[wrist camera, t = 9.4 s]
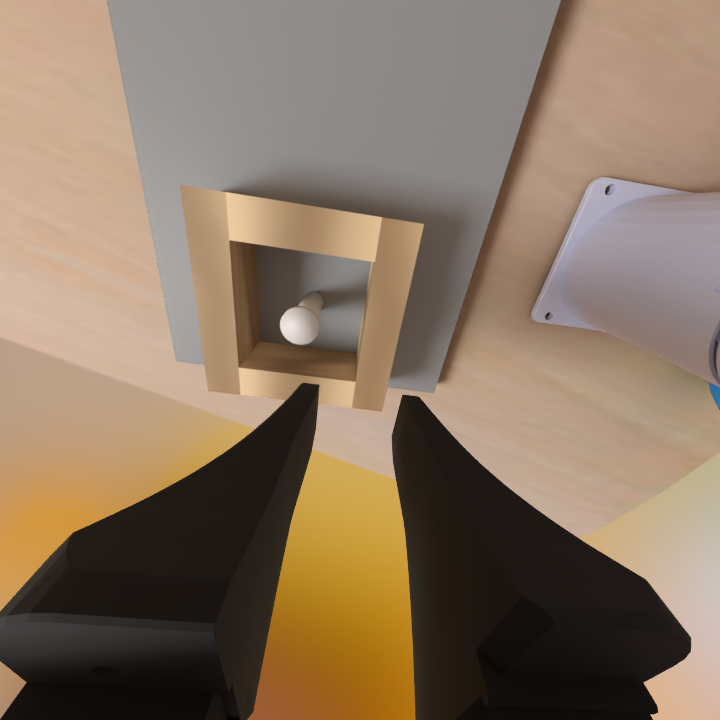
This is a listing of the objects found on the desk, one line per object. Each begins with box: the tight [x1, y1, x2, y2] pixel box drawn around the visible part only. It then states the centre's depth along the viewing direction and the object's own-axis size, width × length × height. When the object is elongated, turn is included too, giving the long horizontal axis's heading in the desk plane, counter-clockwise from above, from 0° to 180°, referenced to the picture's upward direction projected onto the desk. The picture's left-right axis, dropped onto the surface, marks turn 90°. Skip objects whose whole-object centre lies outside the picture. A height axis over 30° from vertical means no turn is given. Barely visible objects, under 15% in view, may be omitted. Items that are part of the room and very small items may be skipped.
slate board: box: [107, 0, 561, 393], centre depth 13 cm, size 18×22×6 cm
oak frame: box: [180, 185, 424, 411], centre depth 15 cm, size 10×10×4 cm
